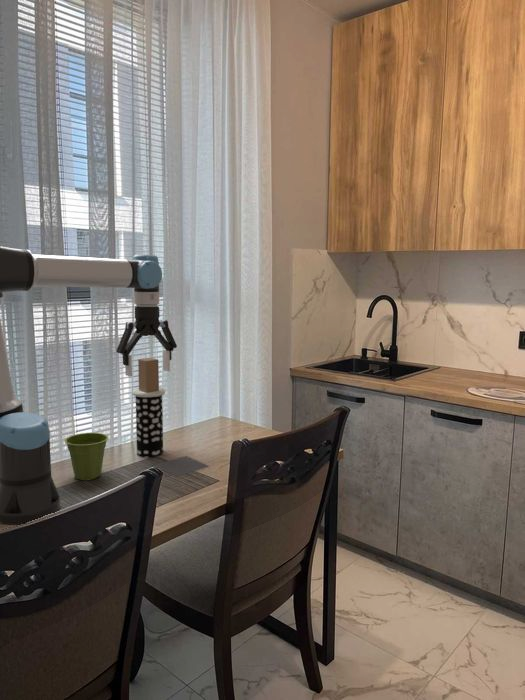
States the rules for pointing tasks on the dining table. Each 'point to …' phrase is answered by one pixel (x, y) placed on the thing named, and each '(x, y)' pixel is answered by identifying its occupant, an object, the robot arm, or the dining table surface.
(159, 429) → the white-spotted black cylinder
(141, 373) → the wooden post on disc
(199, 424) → the dining table surface
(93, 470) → the plant pot
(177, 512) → the dining table surface
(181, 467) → the mat
